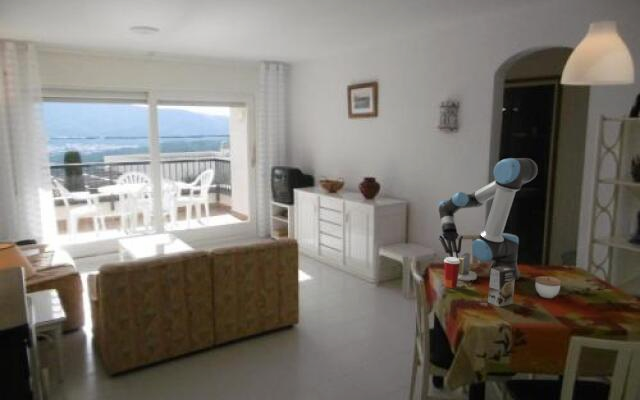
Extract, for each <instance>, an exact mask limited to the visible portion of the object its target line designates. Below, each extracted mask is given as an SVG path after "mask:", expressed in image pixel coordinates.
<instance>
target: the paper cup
mask: <svg viewBox="0 0 640 400" xmlns="http://www.w3.org/2000/svg"><path fill="white" fill-rule="evenodd" d="M458 258H459V257H458ZM458 258H455V257H450V256H448V257H447V256H446V257H445V258H444V260H443V262H444V287H445V288H448V289H456V288H457V286H458V281H459V280H458V273H459V264H460V260H459V259H458Z"/></svg>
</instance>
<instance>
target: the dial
mask: <svg viewBox="0 0 640 400" xmlns="http://www.w3.org/2000/svg"><path fill="white" fill-rule="evenodd" d="M458 259H459V260H460V264H459V273H458V274H461V275H468V274H469V271H470V270H469V268H470V263H471V262H470V261H471V253H468V252H465V253H464V254H462V255H461V256H460V257H459V256H458Z"/></svg>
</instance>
